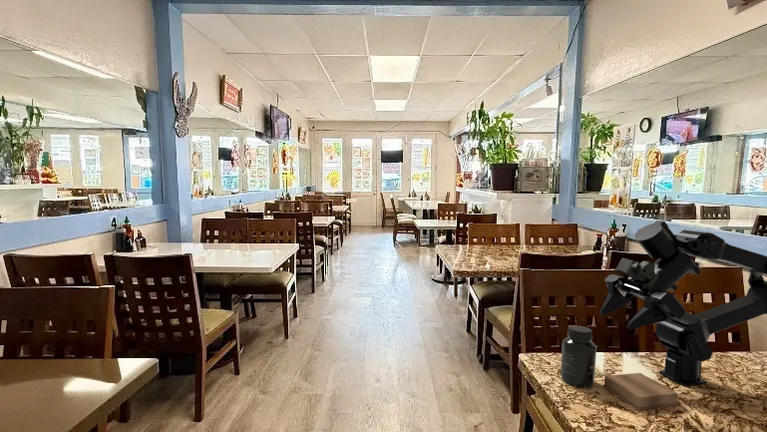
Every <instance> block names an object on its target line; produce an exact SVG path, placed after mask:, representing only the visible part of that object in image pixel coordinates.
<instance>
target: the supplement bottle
mask: <svg viewBox="0 0 767 432" xmlns="http://www.w3.org/2000/svg"><path fill="white" fill-rule="evenodd" d="M566 334H567V337H565V338H564V339H563V340H562V345H561V366H560V377H561V378H560V379H562V381H564V383H566V384H569V385H571V386H574V387H578V388H590V387H592V386H594V385H595V379H596V377H595V376H596V361H597V359H596V358H597V346H596V344H595V343H594V342H593V330H592V329H591V328H589V327H586V326H583V325H574V324H573V325H569V326H568V327H567V333H566Z"/></svg>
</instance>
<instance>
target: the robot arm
mask: <svg viewBox="0 0 767 432" xmlns="http://www.w3.org/2000/svg"><path fill="white" fill-rule="evenodd" d="M633 237H634V239H635V240H636V241H637V243H638V244H639V245H640V247H641V248H642V249H643V250H644V251H645V253H647V255H648V256H649V257H650V258H651V259H657V260H656V261H655V262H654V263H652V262H650V261H646V260H643V261H642V262H639V261H635V260H633V259H632V260H631V259H630V258H629V259H628V258H626V257H625V258H624V257H622V258H621V259H620V261H619V263H618V264H617V266H616V268H615V271H616V272H618V273H622V274H623V275H626V276H628V278H627V279H626V278H625V277H624V276H620V275H618V274H609V275H608V276H606V277H605V278H604V281H605V285H606V287H607V291H608V292H607V296H606V299H605V300H604V302H603V304H602V306H601V308H600V311H599V313H600V315H601V316H606V315H608V314H611V313H612V312H614V311H616V310H618V309H620V308H621V307H624V306H625V305H628V304H629V303H630V302H629V301H630V300H633V299H634V298H636V297H637V298H639V299H641V300H644V301H643V306H642V307H641V309H640V310H639V311H638V312H637V313H636V314H635V315H634V316H632V318H631V319H630V320H629V322H628V323H627V325H626V328H628V329H629V330H634V329H637V328H641V327H645V326H648V325H649V326H650V325H652V324H656V325H655V326H656V327H655V334H656V336H657V338H658V340H659V344H660V346H662V347H664V348H666V357H664V358H665V359H664V370H661V369H660V370H659V372H658V373H659V374H660V375H662V376H664V377H666V378H668V379H670V380H672V381H674V382H676V383H678V384H679V385H681V386H693V385H694V386H697V385H705V384H706V385H707V384H708V381H707V380H706V379H704V378H702V377H701V376H702V362H706V360H707V361H709V360H711V358H712V355H714V354H713V353H714V350H713V349H712V347H710V346H709V344H708V342H709V341H708V340H709V338H710V336H711V335H713V334H716V333H719V332H721V331H723V330H727V329H729V328H731V327H735V326H737V325H739V324H742V323H745V322H748V321H750V320H753V319H755V318H757V317H761V316H763V315H767V280H765V279H764V277H763V274H764V275H765V274H766V275H767V255H764V254H760V253H757V252H754V251H751V250H749V249H744V248H742V247H738V246H735V245H731V244H729V243H727V242H726V241H725V240H724V239H723V238H722V237H720V236H718V235H716V234H714V233H712V232H707V231H696V230H689V229H682V230H681V231H680V232H679V233H678V234H674V233H673V231H672V230H671V229H670V227H669V225H668V224H667V222H666V221H665V220H656V221H654V222H653V223H650V224H647V225H645V226H643V227H641V228H639V229H637V231H636V232H635V233H634V236H633ZM691 257H695V258H701V259H708V260H717V261H718V260H719V261H722V262H726V263H729V264H732V265H735V266H738V267H742V268H745V269H748V271H749V276H748V280H747V283H748V286H749V288H748V289H747V293H746V295H744V296H741V297H738V298H735V299H733V300H731V301H727V302H726V303H723V304H720V305H717V306H714V307H711V308H709V309H706V310H704V311H701V312H699V313H696V314H693V313H690V312H688V311H686V307H685V306H684V305H683V304H682V303H681V301H680V300H679V299H678V298H677V297H676V295H675V294H674V293H673V292H676V291H677V290H678V288H679V287H678V286H677V283H678V282H679V281H680V280H681V279H682V278H684V276H685V275H687V274H688V273H689V274H693V275H697V276H698V275H699V276H700V275H701V270H700V262H697V261H694V260H693V259H692V258H691ZM631 283H632V285H631ZM670 291H673V292H670Z"/></svg>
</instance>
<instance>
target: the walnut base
mask: <svg viewBox="0 0 767 432" xmlns="http://www.w3.org/2000/svg"><path fill="white" fill-rule="evenodd" d="M603 383H604V384H602V387H603V388H604V389H605V390H607V391H609V392H610V393H612V394H614V395H615V396H616V397H617V398H619V399H621V400H622V401H623V402H625V403H626V404H628V405H630V406H631V407H632V408H634V409H636V410H637V411H644V410H652V409H653V410H654V409H662V408H672V407H679V403H678V393H677V392H676V391H674V390H672V389H670V388H668V387H666V386H665V385H663V384H661V383H660V382H658V381H656V380H654V379H652V378H650V377H648V376H646V375H645V374H643V373H641V372H633V373H623V374H621V373H620V374H611V375H604V382H603Z"/></svg>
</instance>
